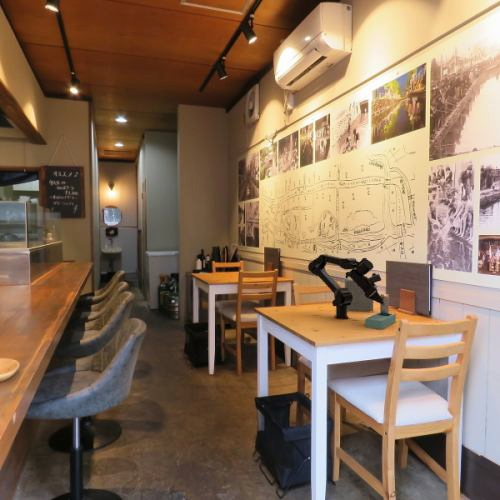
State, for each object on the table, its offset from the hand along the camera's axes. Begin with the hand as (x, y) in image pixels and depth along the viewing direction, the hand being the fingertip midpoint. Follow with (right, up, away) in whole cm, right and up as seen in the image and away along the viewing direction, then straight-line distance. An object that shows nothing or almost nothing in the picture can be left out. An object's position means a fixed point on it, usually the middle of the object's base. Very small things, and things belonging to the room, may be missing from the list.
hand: (382, 301), depth 204 cm
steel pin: (+1, -10, 0) cm, 10 cm away
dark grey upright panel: (-4, -9, +30) cm, 32 cm away
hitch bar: (-2, -10, -4) cm, 11 cm away
